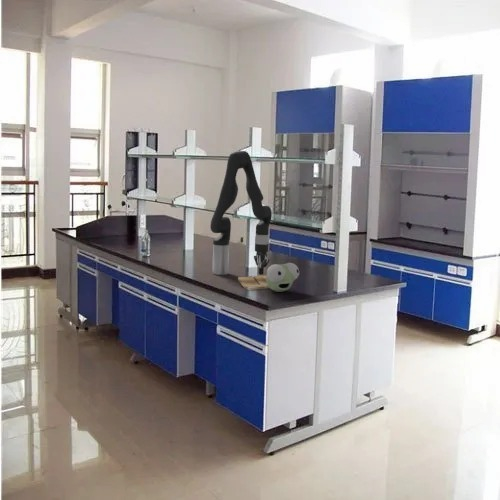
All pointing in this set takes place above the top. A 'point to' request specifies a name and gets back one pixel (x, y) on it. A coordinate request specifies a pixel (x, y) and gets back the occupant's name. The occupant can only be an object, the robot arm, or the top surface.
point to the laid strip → (257, 287)
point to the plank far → (260, 279)
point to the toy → (281, 276)
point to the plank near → (247, 281)
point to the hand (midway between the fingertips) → (261, 274)
